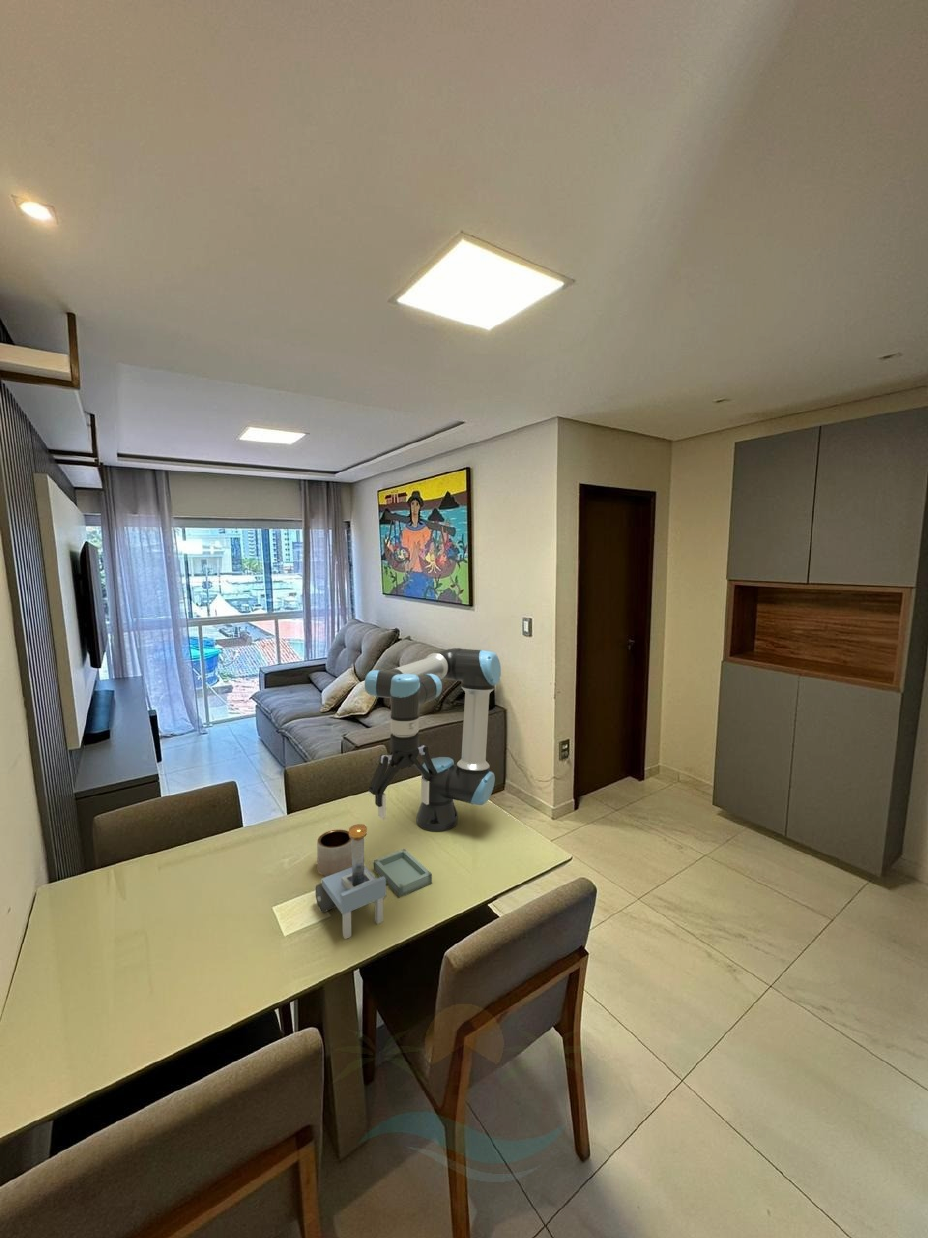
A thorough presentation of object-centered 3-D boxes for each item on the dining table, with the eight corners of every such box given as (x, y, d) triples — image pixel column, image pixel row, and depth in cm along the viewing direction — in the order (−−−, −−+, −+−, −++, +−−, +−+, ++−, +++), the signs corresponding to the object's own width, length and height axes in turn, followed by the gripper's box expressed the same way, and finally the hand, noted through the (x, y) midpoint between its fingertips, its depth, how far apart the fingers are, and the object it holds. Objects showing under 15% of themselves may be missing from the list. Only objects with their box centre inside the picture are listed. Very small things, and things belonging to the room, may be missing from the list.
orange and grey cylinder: (346, 883, 131) (346, 827, 130) (362, 876, 134) (362, 822, 133) (353, 892, 128) (353, 835, 126) (370, 885, 131) (369, 829, 129)
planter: (358, 858, 158) (357, 830, 157) (346, 879, 147) (346, 849, 146) (325, 856, 159) (324, 828, 158) (311, 877, 148) (311, 847, 147)
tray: (373, 869, 152) (373, 860, 152) (404, 857, 159) (404, 848, 158) (399, 897, 139) (399, 887, 139) (431, 883, 146) (431, 873, 146)
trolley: (313, 904, 136) (313, 863, 135) (360, 885, 145) (360, 846, 143) (339, 942, 122) (338, 897, 121) (389, 919, 131) (389, 877, 130)
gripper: (369, 746, 120) (369, 829, 122) (450, 728, 135) (449, 802, 137) (355, 738, 126) (355, 817, 128) (434, 721, 141) (433, 792, 143)
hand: (404, 809), depth 133 cm, fingers open, 13 cm apart
